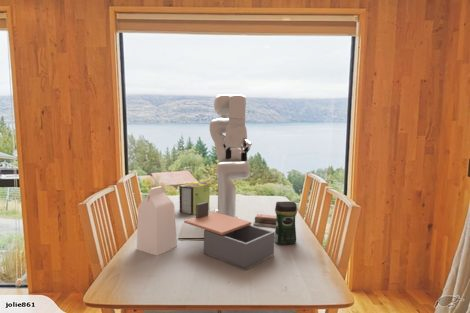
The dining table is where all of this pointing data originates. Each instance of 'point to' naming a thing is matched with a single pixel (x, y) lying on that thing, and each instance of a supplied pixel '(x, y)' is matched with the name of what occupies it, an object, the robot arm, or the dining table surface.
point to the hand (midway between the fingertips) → (236, 159)
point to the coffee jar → (285, 223)
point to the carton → (240, 246)
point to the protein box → (193, 196)
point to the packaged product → (265, 220)
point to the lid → (215, 220)
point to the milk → (156, 223)
